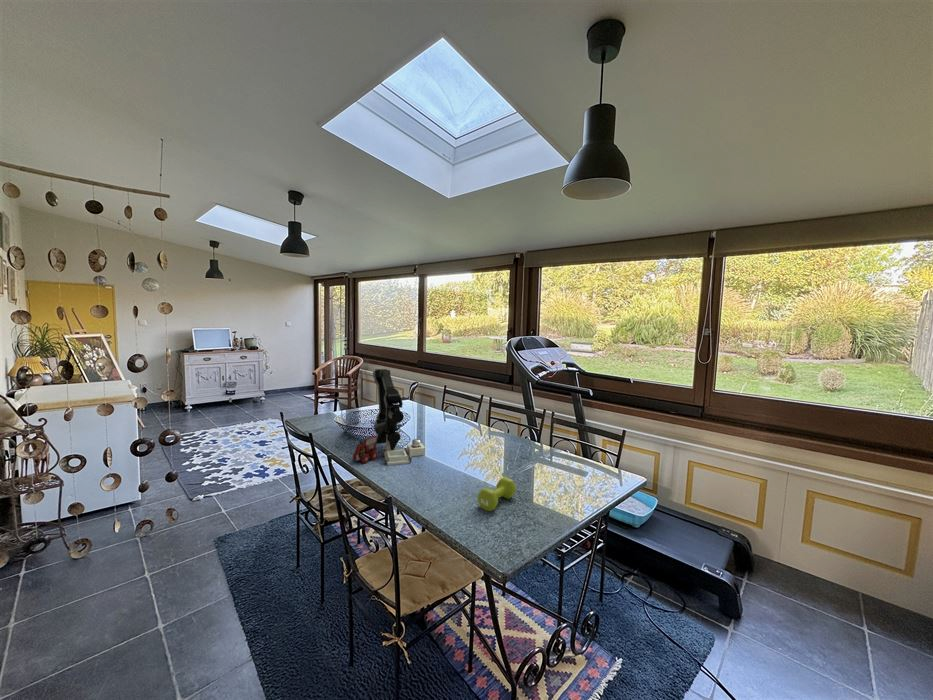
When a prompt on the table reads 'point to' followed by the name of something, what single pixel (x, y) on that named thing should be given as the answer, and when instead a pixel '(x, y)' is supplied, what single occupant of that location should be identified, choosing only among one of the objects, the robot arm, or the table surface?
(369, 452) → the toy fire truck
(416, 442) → the plunger
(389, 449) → the engine block
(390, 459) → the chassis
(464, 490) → the table surface
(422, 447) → the plunger housing
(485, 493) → the dumbbell
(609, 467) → the table surface
